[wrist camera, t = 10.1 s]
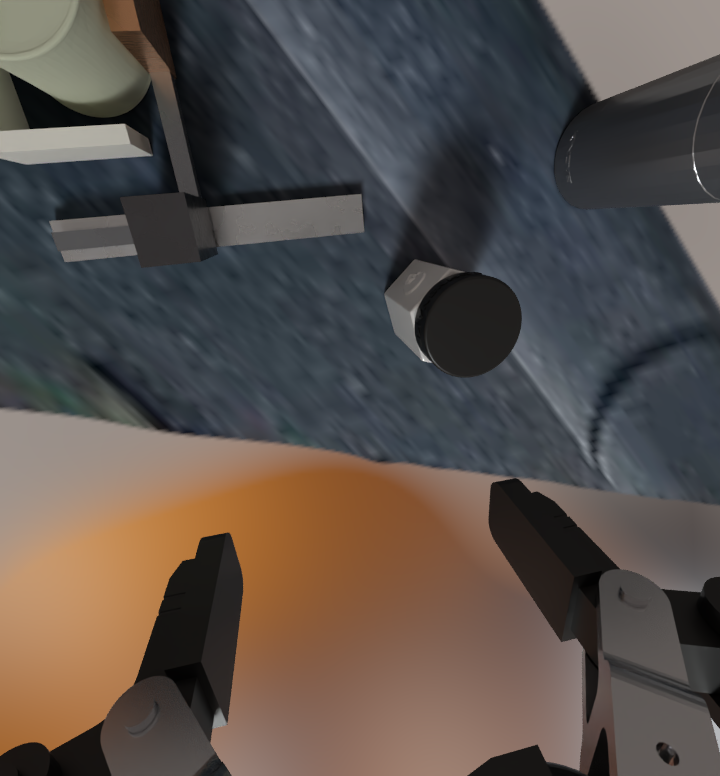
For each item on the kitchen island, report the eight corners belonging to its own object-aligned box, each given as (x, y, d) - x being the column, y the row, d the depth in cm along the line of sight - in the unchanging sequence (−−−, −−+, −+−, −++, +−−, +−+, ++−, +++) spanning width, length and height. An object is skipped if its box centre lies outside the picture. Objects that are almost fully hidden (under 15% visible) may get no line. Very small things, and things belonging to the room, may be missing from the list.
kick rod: (159, -9, 27) (113, -94, 20) (218, 253, 34) (200, 261, 27) (-27, -5, 26) (-151, -96, 18) (75, 268, 33) (15, 280, 26)
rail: (359, 194, 35) (361, 193, 34) (362, 231, 37) (364, 232, 36) (55, 221, 32) (49, 221, 31) (70, 261, 33) (64, 261, 32)
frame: (87, -92, 26) (44, -160, 21) (152, 155, 32) (130, 144, 27) (-73, -93, 24) (-155, -166, 20) (26, 164, 30) (-20, 153, 26)
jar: (428, 239, 38) (484, 246, 27) (477, 294, 41) (545, 319, 30) (367, 308, 40) (398, 339, 29) (419, 355, 43) (464, 400, 32)
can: (25, 105, 29) (-131, 33, 18) (-1, -59, 26) (-214, -270, 15) (157, 128, 31) (88, 76, 20) (149, -22, 28) (59, -183, 17)
